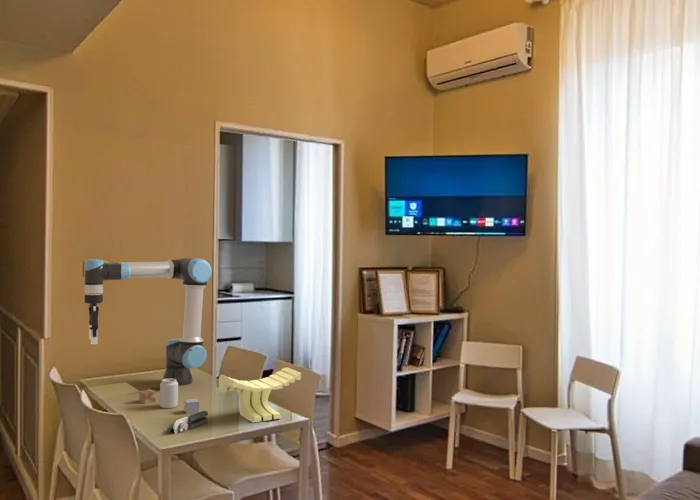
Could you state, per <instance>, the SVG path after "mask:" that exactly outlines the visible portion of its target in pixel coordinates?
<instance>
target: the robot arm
mask: <svg viewBox="0 0 700 500" xmlns="http://www.w3.org/2000/svg"><path fill="white" fill-rule="evenodd" d="M84 261H85V262H84V270H83V271H84V286H83V287H82V289H83V290H84V304H89V306H88V315H89V321H88V322H89V323H88V327H89V329H88V336H89V337H88V338H89V340H90V345H98V344H99V310H100V309H99V306H98V304H102V303H103V302H104V295H103V293H104V281H124V280H129V279H130V278H131V279H132V278H133V279H134V278H135V279H136V278H167V279H169V280H171V279H174V280H175V279H176V280H182V281H183V282H182V286H183V287H184V289H185V295H184V296H185V297H184V309H183V310H184V311H183V313H184V314H183V315H184V316H183V326H182V328H183V330H182V337H181V338H173V339H172V338H171V339H168V340H166V346H165V371H164V373H163V375H162V378H161V381H162V380H163V379H169V378H172V379H176V381H177V382H178V387H179V386H188V385H191V384H193V382H194V381H193V380H194V379H193V378H194V377H193V375H192V372H191V369H198V368H200V367H202V365H203V364H205V362H206V359H207V355H208V354H207V353H208V352H207V350H206V349H205V347H204V339H203V338H202V337H201V336H202V335H201V333H202V321H203V304H204V303H203V301H204V289H206V287H207V286H208V281H209V279H210V278H211V276H212V272H213V271H212V267H211V265H210V263H209V262H208V261H207V260H205V259H203V258H198V257H197V258H196V257H195V258H193V257H185V258H177V259H168V260H166V261H133V262H132V261H130V262H129V261H128V262H127V261H125V262H124V261H123V262H122V261H121V262H106V261H104V260H103V259H99V258H97V259H86V260H84Z"/></svg>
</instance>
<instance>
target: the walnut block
mask: <svg viewBox="0 0 700 500" xmlns="http://www.w3.org/2000/svg"><path fill="white" fill-rule="evenodd" d="M156 395H157V394H156V390H153V389H144V390H140V391H138V402H139V403H142V404H150V403H155V402H156Z"/></svg>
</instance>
